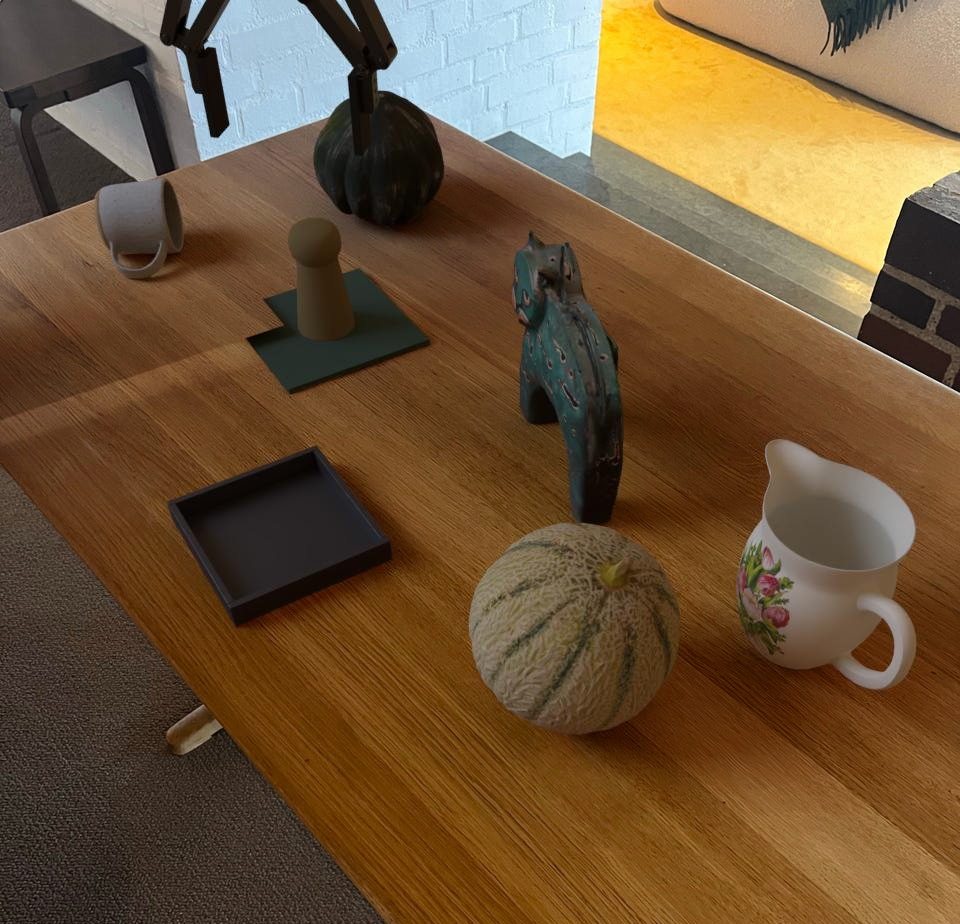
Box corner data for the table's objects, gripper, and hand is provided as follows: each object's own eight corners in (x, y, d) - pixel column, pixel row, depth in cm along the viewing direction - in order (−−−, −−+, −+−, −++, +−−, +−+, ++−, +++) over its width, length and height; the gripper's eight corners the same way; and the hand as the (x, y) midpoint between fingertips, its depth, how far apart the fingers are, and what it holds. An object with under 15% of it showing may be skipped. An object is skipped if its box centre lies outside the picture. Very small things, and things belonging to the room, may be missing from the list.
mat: (227, 315, 106) (225, 310, 106) (359, 272, 112) (359, 267, 111) (289, 394, 98) (288, 389, 97) (430, 344, 103) (429, 339, 103)
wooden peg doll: (313, 347, 102) (297, 247, 93) (287, 319, 105) (270, 219, 96) (365, 329, 104) (354, 229, 95) (339, 302, 107) (326, 203, 98)
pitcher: (810, 758, 71) (867, 639, 61) (679, 588, 82) (709, 460, 71) (931, 707, 74) (1007, 584, 63) (790, 548, 84) (835, 420, 74)
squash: (350, 119, 123) (312, 53, 109) (465, 139, 121) (442, 74, 106) (326, 233, 124) (284, 184, 110) (440, 255, 122) (413, 207, 107)
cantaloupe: (464, 620, 80) (460, 480, 68) (645, 609, 80) (672, 469, 68) (477, 780, 70) (476, 649, 59) (682, 766, 71) (721, 634, 59)
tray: (172, 520, 87) (166, 501, 85) (319, 464, 91) (316, 444, 90) (235, 627, 79) (230, 608, 77) (392, 559, 84) (390, 540, 82)
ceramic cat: (503, 397, 97) (507, 199, 82) (566, 387, 98) (582, 189, 83) (564, 537, 85) (582, 336, 70) (635, 523, 86) (668, 323, 71)
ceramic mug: (116, 233, 117) (96, 169, 111) (186, 229, 117) (170, 165, 111) (103, 284, 110) (81, 219, 104) (177, 280, 111) (159, 215, 105)
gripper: (427, -157, 73) (435, 137, 90) (117, -181, 77) (179, 106, 93) (399, -128, 69) (412, 176, 85) (69, -155, 72) (144, 142, 89)
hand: (290, 140), depth 89 cm, fingers open, 13 cm apart
